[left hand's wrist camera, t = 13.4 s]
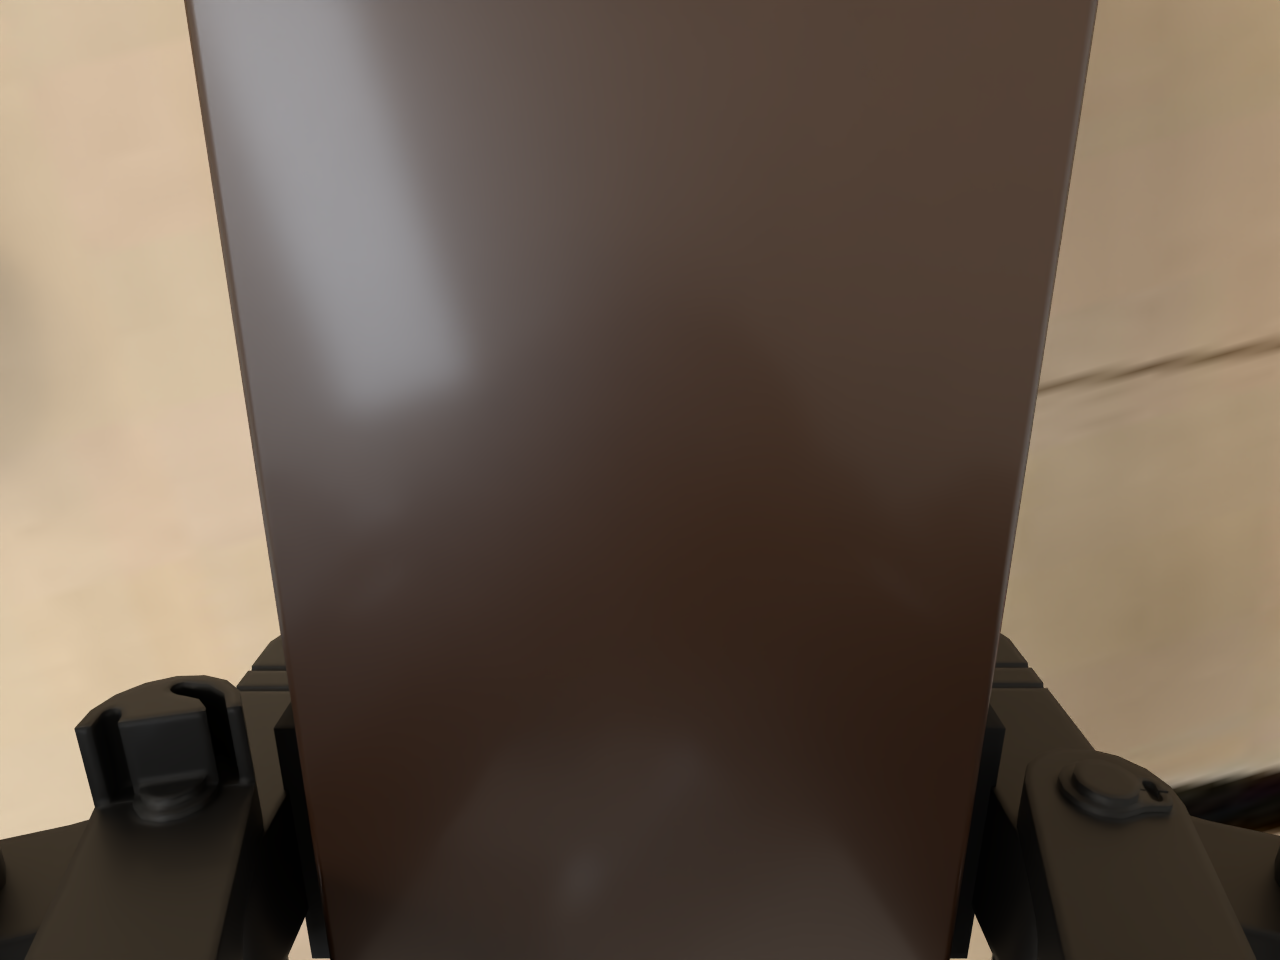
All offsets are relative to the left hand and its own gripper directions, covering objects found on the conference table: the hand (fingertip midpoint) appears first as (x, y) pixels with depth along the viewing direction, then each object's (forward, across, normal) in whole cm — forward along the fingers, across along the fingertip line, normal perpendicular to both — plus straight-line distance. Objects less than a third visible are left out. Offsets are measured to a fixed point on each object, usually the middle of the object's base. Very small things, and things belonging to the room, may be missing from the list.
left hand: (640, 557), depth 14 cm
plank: (0, 0, -11) cm, 11 cm away
